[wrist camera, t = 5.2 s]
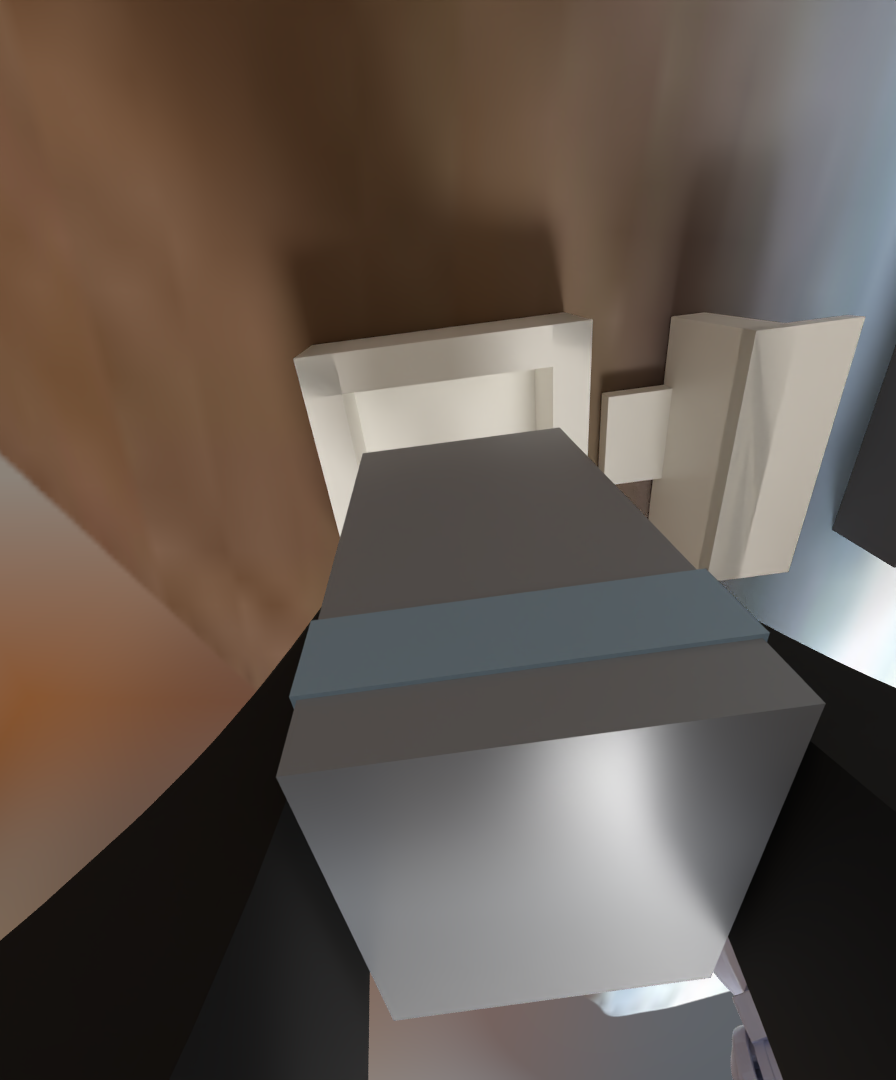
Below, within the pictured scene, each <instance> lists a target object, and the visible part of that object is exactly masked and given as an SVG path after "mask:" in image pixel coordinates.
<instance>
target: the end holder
mask: <svg viewBox="0 0 896 1080" xmlns="http://www.w3.org/2000/svg"><path fill="white" fill-rule="evenodd" d="M592 327H593V319H589V318H585V317H581V316H577V315H573V314H569V313H566V312H562V313H554V314H547V315H539V316H531V317H524V318H516V319H508V320H501V321H493V322H485V323H478V324H470V325H462V326H455V327H447V328H439V329H432V330H424V331H416V332H409V333H401V334H393V335H386V336H378V337H370V338H363V339H355V340H347V341H340V342H332V343H324V344H317V345H311V346H310V347H309V348H307V349H306V350H304V351H303V352H302V353H300V354H299V355H298V356H296V357H295V358H293V360H294V364H295V367H296V371H297V375H298V379H299V383H300V386H301V390H302V394H303V398H304V402H305V405H306V409H307V413H308V417H309V421H310V425H311V428H312V432H313V436H314V440H315V444H316V447H317V451H318V455H319V459H320V463H321V466H322V470H323V474H324V478H325V482H326V485H327V489H328V493H329V497H330V501H331V505H332V508H333V512H334V516H335V520H336V524H337V527H338V531H339V535H340V536H341V533H342V529H343V525H344V521H345V518H346V514H347V510H348V506H349V503H350V499H351V495H352V492H353V488H354V484H355V480H356V477H357V473H358V469H359V465H360V462H361V458H362V454H363V453H368V452H376V451H384V450H391V449H399V448H406V447H414V446H422V445H429V444H437V443H445V442H452V441H460V440H467V439H475V438H483V437H490V436H498V435H505V434H513V433H521V432H528V431H536V430H544V429H551V428H559V427H560V428H561V429H562V430H563V431H564V432H565V433H566V434H567V436H568V437H569V438H570V439H571V440H572V441H573V442H574V443H575V444H576V445H577V446H578V447H579V448H580V449H581V450H582V451H583V452H584V453H585V454H586V455H587V456H588V432H589V406H590V380H591V354H592Z"/></svg>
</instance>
